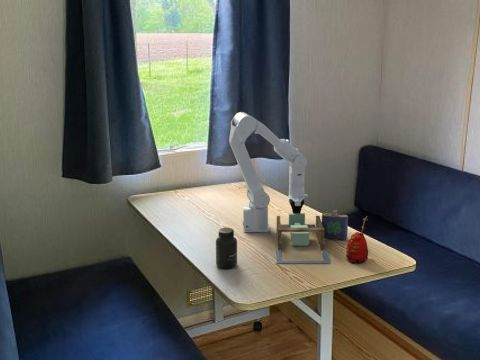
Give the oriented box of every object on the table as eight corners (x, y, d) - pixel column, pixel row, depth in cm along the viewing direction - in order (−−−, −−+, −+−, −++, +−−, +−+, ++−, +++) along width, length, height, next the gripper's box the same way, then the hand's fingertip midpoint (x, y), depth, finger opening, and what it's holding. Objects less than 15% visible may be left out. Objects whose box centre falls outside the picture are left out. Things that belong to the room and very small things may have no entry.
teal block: (291, 245, 184) (291, 232, 183) (288, 225, 204) (288, 213, 202) (309, 245, 184) (309, 232, 183) (304, 224, 203) (304, 213, 202)
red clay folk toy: (344, 255, 177) (345, 212, 173) (365, 255, 177) (367, 212, 173) (347, 264, 170) (349, 220, 166) (370, 264, 169) (372, 220, 165)
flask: (347, 238, 191) (348, 210, 188) (346, 241, 188) (347, 212, 185) (321, 236, 193) (322, 208, 190) (320, 239, 191) (321, 210, 188)
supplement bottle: (235, 270, 167) (234, 234, 164) (213, 269, 168) (212, 233, 165) (239, 261, 174) (238, 226, 170) (219, 260, 175) (217, 225, 172)
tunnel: (277, 249, 182) (278, 229, 180) (276, 232, 197) (276, 213, 195) (324, 249, 181) (324, 229, 179) (319, 232, 197) (319, 213, 195)
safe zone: (276, 263, 171) (276, 262, 171) (275, 250, 181) (275, 249, 181) (330, 263, 171) (330, 262, 171) (326, 250, 181) (326, 249, 181)
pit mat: (278, 230, 199) (278, 230, 199) (278, 225, 204) (278, 224, 204) (316, 230, 198) (316, 230, 198) (314, 225, 204) (314, 224, 204)
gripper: (309, 189, 193) (308, 224, 197) (305, 178, 207) (305, 211, 211) (289, 189, 194) (289, 224, 197) (287, 178, 208) (287, 211, 211)
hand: (296, 217), depth 204 cm, fingers closed
